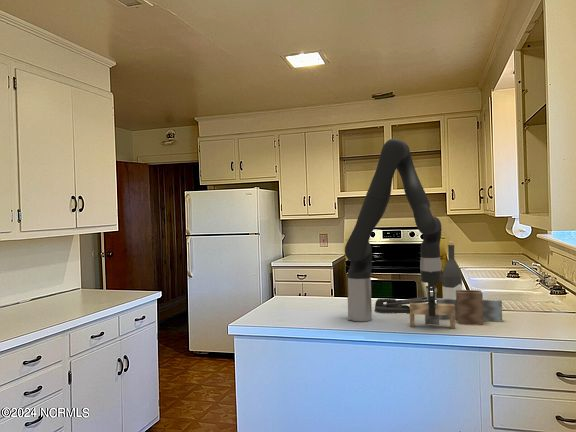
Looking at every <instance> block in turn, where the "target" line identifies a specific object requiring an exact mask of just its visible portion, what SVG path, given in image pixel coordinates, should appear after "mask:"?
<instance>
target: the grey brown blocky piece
mask: <svg viewBox="0 0 576 432" xmlns="http://www.w3.org/2000/svg"><path fill="white" fill-rule="evenodd" d="M481 290H482V289H481ZM481 290H479V289H477V290H476V289H474V290H473V289H470V290H469V289H462V290H456V299H443V298H441V297H439V298H438V297H436V300H435V303H436V304H454V306H455V321H457V325H475V324H480V325H479V326H483V325H484V322H496V321H502V322H503V300H501V299H484V297H483V291H481ZM445 319H450V315H439V320H445Z"/></svg>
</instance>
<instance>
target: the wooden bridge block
mask: <svg viewBox="0 0 576 432" xmlns="http://www.w3.org/2000/svg"><path fill="white" fill-rule="evenodd" d="M409 307H410V313H409V326H410V328H415V315H424V321H425V322H424V324H425V325H430V326H431V325H436V326H439V325H440V319H439V315H450V320H449V326H450V327H449V328H450V329H452V330H456V320H455V306H454V304H436V305H435V316H429V306H428V302H426V303H410V304H409Z"/></svg>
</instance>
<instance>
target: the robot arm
mask: <svg viewBox="0 0 576 432" xmlns="http://www.w3.org/2000/svg"><path fill="white" fill-rule="evenodd" d="M412 157H413V156H412V154H411V151H410V146H409V145H408V143H406V142H405V141H403V140H400V139H398V138H391V139H388V140H387V141H386V142H385V143H384V144H383V146H382V147H381V151H380V155H379V158H378V162H377V166H376V169H375V172H374V174H373V176H372V179H371V182H370V183H369V187H368V190H367V192H366V194H365V198H364V200H363V202H362V206H361V208H360V211H359V214H358V217H357V219H356V223H355V226H354V228H353V230H352V232H351V234H350V236H349V238H348V239H347V242H346V244H345V247H344V255H345V257H346V259H347V260H349V261H350V265H349V268H348V270H347V285H348V287H347V288H348V293H347V294H348V296H347V319H348V321H353V322H361V323H362V322H369V321H371V320H373V318H372V317H373V313H372V311H373V310H372V309H373V308H372V279H371V274H372V269H373V250H372V245H371V243H370V239H371V236H372V233H373V231H374V229H375V228H376V226H377V225H378V224H379V222H380V221H381V219H382V217H383V216H384V214H385V213H386V209H387V207H388V205H389V202H390V198H391V195H392V193H391V192H392V184H393V180H394V179H393V177H394V175H395V172H396V170H397V171H398V174H399V175H400V179H401V182H402V187H403V191H404V194H405V196H406V199H407V201H408V204H409V206H410V208H411V210H412V214H413V218H414V223H415V225H416V228H417V229H418V231H419V232H420V233H421V234H422V237H423V238H422V242H421V243H420V262H419V264H420V265H419V268H420V269H419V270H420V281H421V282H422V283H427V285H426V286H425V292H426V297H427V299H426V300H428V302H427V303H428V306H429V316H435V305H436V298H437V293H438V288H437V285H435V284H437V283H438V284H439V283H441V282H442V260H441V245H440V244H441V239H442V230H443V229H442V223H441V220H440V219H439V218H438V217H436V216H433V215H432V211H431V209H430V207H431V202H430V200H429V198H428V196H427V194H426V192H425V189H424V188H423V185H422V182H421V181H420V179H419V176H418V174H417V171H416V167H415V165H414V162H413V158H412Z"/></svg>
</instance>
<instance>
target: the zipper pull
mask: <svg viewBox="0 0 576 432" xmlns="http://www.w3.org/2000/svg"><path fill="white" fill-rule="evenodd" d="M410 303H428V299H427V296H422V297H421V296H420V297H413V298H407V299H397V300H396V299H395V298H377V299H376V301H375V304H374V312H375V313H376V314H377V313H378V314H397V313H407V314H409V313H408V312H410Z"/></svg>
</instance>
